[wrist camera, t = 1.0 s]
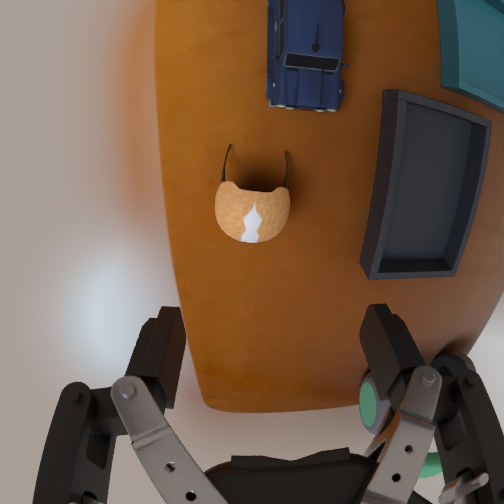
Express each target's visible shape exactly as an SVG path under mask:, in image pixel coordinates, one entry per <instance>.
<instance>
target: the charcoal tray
mask: <svg viewBox="0 0 504 504" xmlns="http://www.w3.org/2000/svg"><path fill="white" fill-rule="evenodd" d="M491 127H492V121H490V120H488V119H485V118H483V117H481V116H478V115H476V114H473V113H471V112H468V111H465V110H463V109H460V108H457V107H455V106H452V105H449V104H446V103H443V102H440V101H437V100H434V99H430V98H427V97H424V96H420V95H417V94H413V93H409V92H405V91H402V90H383V103H382V118H381V130H380V141H379V150H378V159H377V167H376V175H375V182H374V188H373V195H372V201H371V207H370V213H369V218H368V224H367V229H366V234H365V239H364V244H363V249H362V253H361V258H360V262H359V263H360V265H361V267H362V268H363V270H364V272H365V274H366V276H367V278H368V279H369V280H379V279H407V278H430V277H449V276H455V274H456V271H457V268H458V266H459V263H460V260H461V258H462V255H463V252H464V249H465V246H466V243H467V240H468V237H469V234H470V231H471V227H472V224H473V220H474V217H475V213H476V210H477V206H478V202H479V198H480V194H481V189H482V185H483V180H484V175H485V170H486V164H487V158H488V152H489V145H490V137H491Z"/></svg>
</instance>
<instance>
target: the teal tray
mask: <svg viewBox="0 0 504 504" xmlns="http://www.w3.org/2000/svg"><path fill="white" fill-rule="evenodd" d="M437 8H438V18H439V29H440V47H441V87H443V88H446V89H449V90H451V91H454V92H457V93H459V94H462V95H464V96H466V97H469V98H471V99H474V100H476V101H478V102H480V103H483V104H485V105H487V106H489V107H491V108H493V109H495V110H497V111H499V112H501V113H503V114H504V0H437Z"/></svg>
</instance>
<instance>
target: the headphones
mask: <svg viewBox="0 0 504 504" xmlns="http://www.w3.org/2000/svg"><path fill="white" fill-rule="evenodd" d="M431 367H433V368H434V369H436V370H437V371H438V372H439V374H440V376H449V377H457V376H458V374H459V373H460V372H461V371H462V370H464V369H470V370H473V371H475V372H476V369H475V366H474V364H473V362H472V361H471V359H470V358H469V357H468V356H466V355H465V354H463V353H459V352H456V353H445V354H441V355H439V356H438V357H437V358H435V359H434V361H433V362H432V364H431ZM389 406H390V401H389V400H384V401H380V399H379V396H378V393H377V390H376V387H375V384H374V380H373V377H372V374H371V372H369V373H368V374H367V375H366V376H365V377H364V379H363V381H362V384H361V387H360V392H359V409H360V415H361V419H362V422H363V424H364V426H365V428H366V429H367V430H368V431H369V432H370V433H372V434H375V435H376V433H377V431H378V429H379V427H380V425H381V423H382V421H383V418H384V416H385V414H386V412H387V409H388V407H389ZM459 417H460V420H461V423H462V426H463V429H464V432H465V435H466V428H465V425H464V422H463V419H462V416H461V413H460V414H459ZM441 472H443V471H442V467H441V462H440V458H439V454H438V452H434V453H427V456H426V459H425V462H424V464H423V467H422V469H421V472H420V474H419V477H418V478H425V477H430V476H433V475H436V474H439V473H441Z"/></svg>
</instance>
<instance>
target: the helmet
mask: <svg viewBox="0 0 504 504" xmlns="http://www.w3.org/2000/svg"><path fill="white" fill-rule="evenodd" d="M230 147H231V144H230V146H229V148H228V150H227V153H226V157H225V162H224V167H223V171H222V178H221V185H220V186H219V188H218V190H217V193H216V196H215V215H216V218H217V221H218V224H219V225H220V227H221V229H222V230H223V231H224V232H225V233H226V234H227V235H229V236H230V237H232V238H234V239H236V240H239V241H243V242H248V243H257V242H264V241H266V240H269V239H271V238H273V237H274V236H276V235H277V234H278V233H279V232H280V231H281V230H282V229H283V227H284V226H285V224H286V222H287V219H288V215H289V210H290V197H289V191H288V190H287V189H286V188H285V185H286V180H287V179H288V160H287V153H286V150H285V152H284V153H285V157H286V175H285V179H284V183H283V187H278V188H276V189H275V190H274V191H273V192H257V191H247V190H242V189H239V188H238V187H237V186H236V185H235V183H234V182H230V181H226V182H225V164H226V159H227V155H228V152H229V149H230ZM222 180H223V183H222Z"/></svg>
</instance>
